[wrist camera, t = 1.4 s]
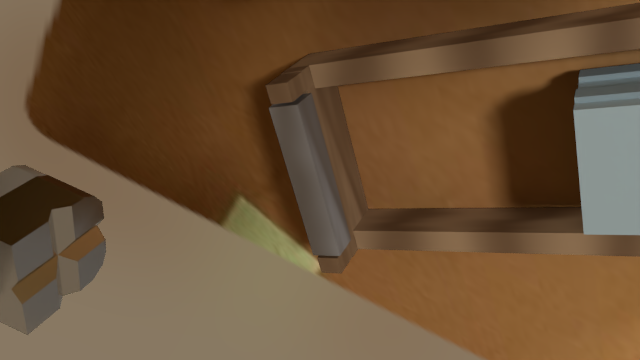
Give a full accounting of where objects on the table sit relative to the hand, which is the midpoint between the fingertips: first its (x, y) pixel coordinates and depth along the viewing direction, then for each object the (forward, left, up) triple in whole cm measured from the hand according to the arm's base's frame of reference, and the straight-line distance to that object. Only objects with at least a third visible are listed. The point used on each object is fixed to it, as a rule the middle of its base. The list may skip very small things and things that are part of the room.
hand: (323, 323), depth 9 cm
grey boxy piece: (-4, +9, -29) cm, 30 cm away
